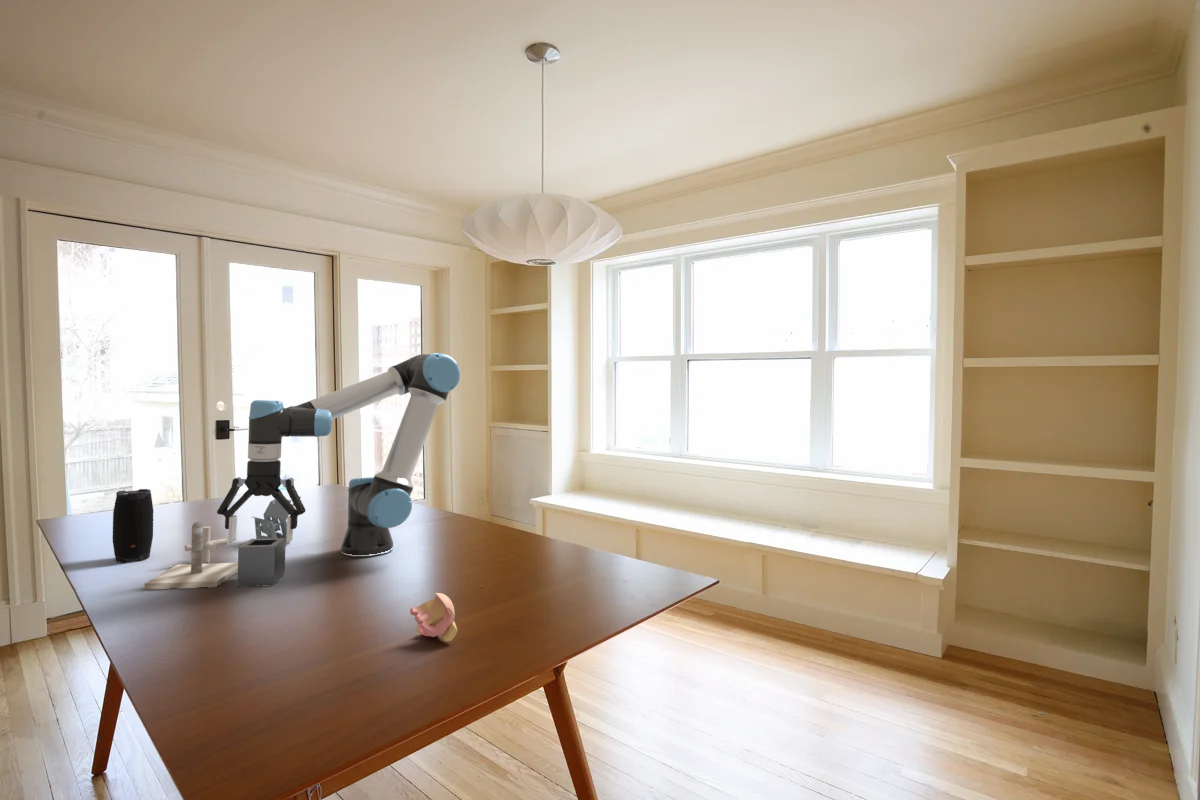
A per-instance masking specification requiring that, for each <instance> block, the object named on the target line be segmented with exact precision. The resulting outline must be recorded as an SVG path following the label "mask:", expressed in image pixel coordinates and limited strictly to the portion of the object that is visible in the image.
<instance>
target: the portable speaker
mask: <svg viewBox="0 0 1200 800" xmlns="http://www.w3.org/2000/svg"><path fill="white" fill-rule="evenodd" d="M151 491H152V490H151V489H148V488H141V489H140V488H139V489H138V490H118V491H117V492H116V493H115V494H116V495H115V496H116V497H115V501H114V506H113V511H112V545H113V546H112V547H113V553H114V557H115V559H114V560H115V562H116V561H117V562H116V563H122V562H123V563H126V561H127V560H135V559H137V561H139V562H140V561H143V560H148V559H149V558H150V556H151V550H152V545H153V539H154V507H153V506H154V505H153V498H152V492H151Z"/></svg>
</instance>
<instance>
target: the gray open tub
mask: <svg viewBox="0 0 1200 800" xmlns="http://www.w3.org/2000/svg"><path fill="white" fill-rule="evenodd" d="M285 543H286V538H272V539H256V538H250V539H249V540H248V541H245V542H244V543H242V544H241V545H240V546H238V547H237V548H238V549H237V563H238V572H237V587H238V586H247V587H264V586H263V585H274V584H275V585H276V584H278V582H279V581H280V580H282V579H283V578H284V577H285V576H284V575H286V545H285ZM283 576H284V577H283ZM257 585H258V586H257ZM275 585H274V586H275Z"/></svg>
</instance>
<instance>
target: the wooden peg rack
mask: <svg viewBox="0 0 1200 800" xmlns="http://www.w3.org/2000/svg"><path fill="white" fill-rule="evenodd" d="M227 544H228V539H227V538H226V537H225V538H220V539H213V540H211V526H203V553H202V564H208V563H210V561H211V551H212V552H213V551H216V550H217V547H219V546H225V545H227ZM191 547H192V543H188V544H184V551H185V552H190V551H191ZM207 562H208V563H207Z"/></svg>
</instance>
